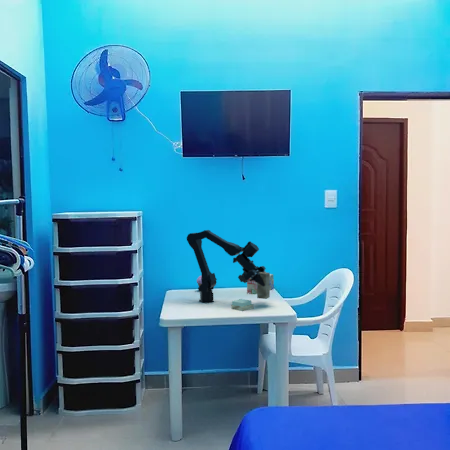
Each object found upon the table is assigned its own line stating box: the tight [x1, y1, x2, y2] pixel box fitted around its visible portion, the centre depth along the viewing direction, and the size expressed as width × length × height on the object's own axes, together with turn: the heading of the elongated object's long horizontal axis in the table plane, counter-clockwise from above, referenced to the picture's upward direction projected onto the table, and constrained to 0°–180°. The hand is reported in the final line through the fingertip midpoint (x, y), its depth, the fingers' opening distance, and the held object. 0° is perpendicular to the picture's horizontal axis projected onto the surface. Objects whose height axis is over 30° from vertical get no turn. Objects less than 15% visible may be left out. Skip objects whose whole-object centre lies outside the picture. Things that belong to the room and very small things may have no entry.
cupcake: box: [196, 275, 202, 287], centre depth 288 cm, size 9×9×10 cm
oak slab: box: [231, 303, 254, 312], centre depth 238 cm, size 8×8×2 cm
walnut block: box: [256, 271, 271, 300], centre depth 242 cm, size 5×5×13 cm
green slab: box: [231, 298, 252, 307], centre depth 238 cm, size 7×7×2 cm
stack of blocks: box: [246, 273, 275, 295], centre depth 284 cm, size 21×6×12 cm, turn 144°
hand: (266, 285), depth 242 cm, fingers closed on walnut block, 5 cm apart
